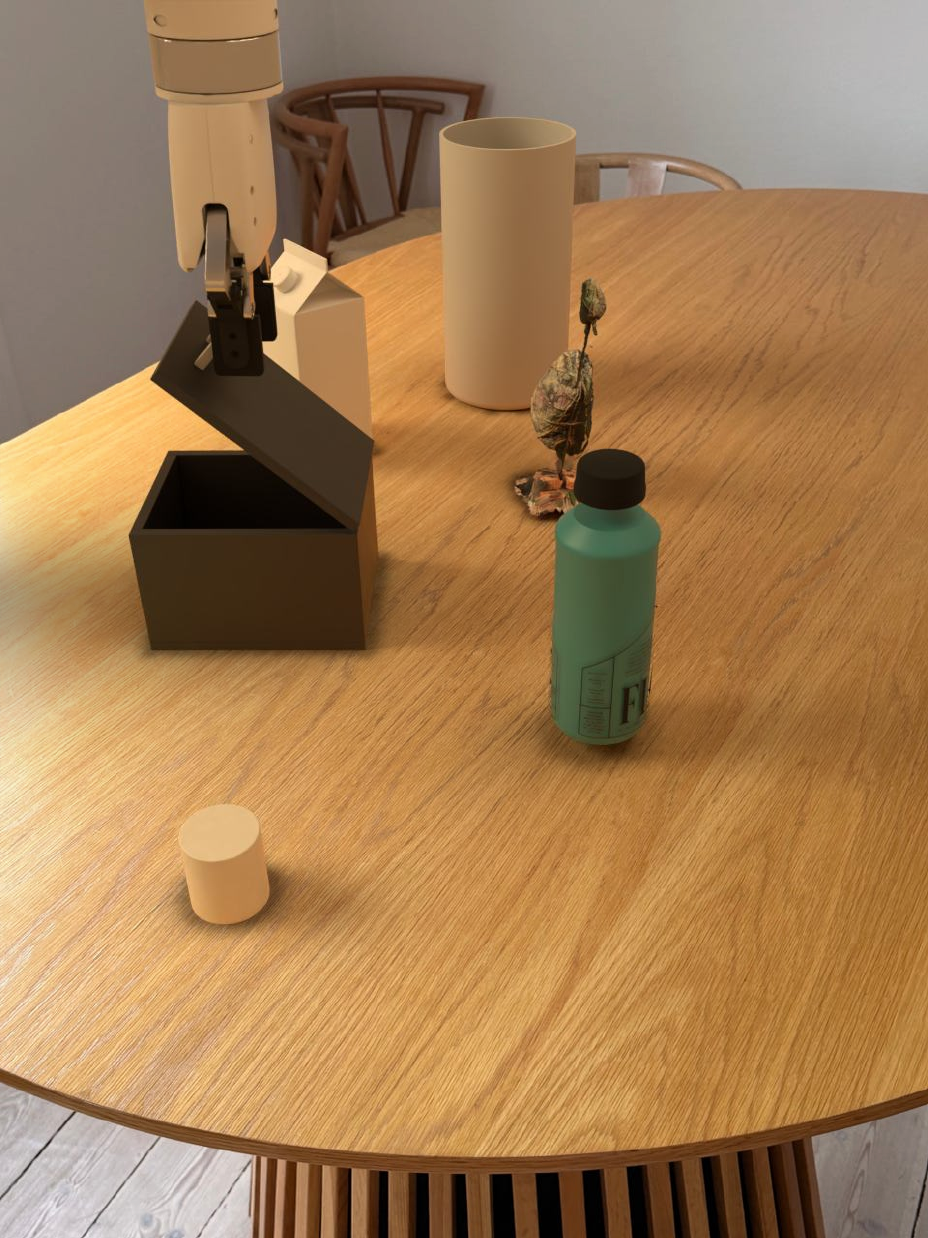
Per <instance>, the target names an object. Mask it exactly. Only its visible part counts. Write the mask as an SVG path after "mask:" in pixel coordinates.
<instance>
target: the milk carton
mask: <svg viewBox="0 0 928 1238" xmlns="http://www.w3.org/2000/svg"><path fill="white" fill-rule="evenodd" d="M283 249H284V251H283V252H282V253H281V255H279V257H278V259H277V260H275V263H273V265H272V267H271V280H270V281H263V282H266V283H273V286H274V297H275V309H276V320H277V331H278V335H277V338H276V340H275V341H272V342H262V343H263V353H264V354H265V355H267V356H268V357H269V358H270V359H272V360H273V361H274V362H276V363H277V364H278V365H279V366H281V367H282V368H283V369H284V370H286V371H287V372H288V373H289V374H291V375H292V376H293V377H294V378H296V379H297V380H298V381H300V382H301V383H302V384H303V385H305V386H306V387H307V388H308V389H310V390H311V391H312V392H313V393H315V394H316V395H317V396H319V397H320V398H321V399H322V400H324V401H325V402H326V403H327V404H329V405H330V406H331V407H332V408H334V409H335V410H336V411H337V412H339V413H340V414H341V415H343V416H344V417H345V418H346V419H348V420H349V421H350V422H351V423H353V424H354V425H355V426H356V427H358V428H359V429H360V430H361V431H363V432H364V433H365V434H367V435H368V436H369V437H370V438H372V439H373V440H374V438H373V421H372V419H373V418H372V404H371V403H372V402H371V387H370V370H369V353H368V339H367V338H368V337H367V322H366V321H367V319H366V306H365V305H366V304H365V303H366V302H365V296H364V295H362V294H361V293H360V292H358V291H356V290H355V289H353V288H352V287H350V286H349V285H348V284H346V283H345V282H344V281H342V280H340V279H339V278H338V277H336V276H334V275H333V274H331V273H330V272H329V267H328V259H327V258H326V257H324V256H322V255H320V254H318V253H316V252H313V251H311V250H309V249H307V248H306V247H303V246H301V245H299V244H298V243H296V242H293V241H291V240H289V239H287V238H283Z"/></svg>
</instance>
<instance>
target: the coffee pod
mask: <svg viewBox="0 0 928 1238" xmlns="http://www.w3.org/2000/svg"><path fill="white" fill-rule="evenodd" d="M177 839H178V846H179V849H180V851H179V852H180V855H181V860H182V865H183V870H184V875H185V880H186V885H187V890H188V894H189V899H190V904H191V907H192V910H193V911H194V913H195V914H196V915H197V916H198V917H199V918H200V919H202V920H203V921H206V922H208V923H211V924H215V925H234V924H238V923H240V922H244V921H246V920H248V919H250V918H252V917H253V916H255V915H256V914H258V913H259V912H260V911H261V910H262V909H263V908H264V907H265V905H266V904H267V902H268V901H269V900H268V899H269V897H270V881H269V875H268V869H267V863H266V856H265V855H266V854H265V849H264V842H263V834H262V829H261V822H260V819H259V818H258V816H257V815H256V814H255V813H254V812H253V811H252V810H250V809H249V808H247V807H245V806H242V805H239V804H233V803H221V804H219V803H218V804H214V805H209V806H206V807H204V808H202V809H199V810H198V811H195V812H194V813H193V814H192V815H190V816H189V817H188V818H187V819H186V820H185V821H184V822H183V824H182V825H181V827H180V829H179V831H178V836H177Z"/></svg>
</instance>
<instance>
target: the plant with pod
mask: <svg viewBox="0 0 928 1238" xmlns="http://www.w3.org/2000/svg"><path fill="white" fill-rule="evenodd" d="M580 290H581V291H580V292H581V294H580V298H579V299H580V303H579V304H580V306H579V312H578V315H579V322H580V323H581V324H582V325H584V329H583V334H584V336H583V337H584V338H583V346H582V349H581V350H580V349H570V350H568V351H566V352H564V353H563V354H562V355H560V356H559V358H558V359H557V360H556V361H554V362H553V364H552V365H551V366H550V368H549V369H548V371H547V372H546V373H545V376H544V377H543V378H542V379H541V380H540V381H539V382H538V385H537V387H536V389H535V390H534V393H533V396H532V398H531V408H530V419H531V421H532V425H533V428H534V431H535V433H536V435H537V436H536V438H537V439H538V440H539V441H540V442H541V443H542V444H543V446H545V447H546V448H548V449H549V450H552V451H554V452H555V459H554V460H555V461H554V467H555V469H550V468H548V467H544V468H543V467H542V468H540V469H538V470H536V471H535V472H534V473H529V474H527V475H526V474H524V475H519V476H518V475H516V476H515V477H516V478H515V481H514V482H515V483H514V484H515V486H513V488H514V492H515V495H518V496H519V497H522V499H521V501H522V502H524V503H527V507H529V508H528V510H529V511H530V512H529V514H530V515H533V516H538V517H540V516H541V514H542V515H546V514H548V513H555V510H556V511H558V513H560V514H561V512H563V514H564V513H566V512H567V511H568V510H570V509H571V508H572V507H574V506H575V505H577V504H579V503H580V501H578V500H577V499H576V497H575V496H574V492H573V491H574V481H575V478H576V470H577V469H574V467H575V465H576V464H577V463H578V461H579V459H580V458H581V457H582V456H583V453H584V452H585V451H586V448H587V446H588V445H589V439H590V436H591V433H592V427H593V420H592V419H593V416H592V412H593V408H594V401H595V399H594V398H595V396H594V388H593V386H594V382H593V374H594V366H593V362H592V361H591V360H590V358H589V354H588V353H587V352H585V351H586V348H587V347H588V348H593V347H594V346H593V345H588V340H589V336H590V332H591V331H592V333H593V335H594V336H595V337H597V336H598V334H599V333H598V329H597V325H598V324H597V322H598V321H600V320H601V319H602V318H603V316H605V313H606V311H607V306H608V305H607V299H606V296H605V293H604V292H603V290H602V288H601V286H600V285H599V283H598V282H597V281H596V279H595V278H594V277H590V278H589V279H585V280H584V281H583V282H582V283H581V289H580ZM591 328H592V330H591ZM587 345H588V346H587Z"/></svg>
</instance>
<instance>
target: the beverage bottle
mask: <svg viewBox="0 0 928 1238" xmlns="http://www.w3.org/2000/svg"><path fill="white" fill-rule="evenodd" d="M575 470H576V478H575V481H574V491H573V492H574V496H575V497H576V499H577V500H578V501H580V503H579V504H577V505H575V506H574V507H572V508H571V509H570V510H568V511H567V512H566V513H564V512H563V514H562V515H561V516H560V517H559V518H558V520H557V522H556V523H555V526H554V539H555V540H554V541H555V545H554V546H555V548H554V578H553V579H554V582H553V605H552V608H551V613H552V617H551V616H550V617H549V618H550V619H551V618H552V623H551V625H552V627H551V632H549V636H551V638H550V640H551V646H550V644H549V648H550V649H549V652H550V654H549V655H548V658H549V662H550V663H549V668H548V669H549V671H548V672H549V674H550V675H549V678H548V681H549V682H548V689H549V690H548V700H547V701H548V703H550V704H548V708H549V709H548V712H549V713H550V716H551V717H552V719H553V722H554V724H555V725H556V727H557V728H558V729H559V731H560V732H562V733H563V735H565V736H567V737H569V738H571V739H572V740H574V741H577V742H581V743H583V744H588V745H595V746H604V745H605V746H606V745H607V746H608V745H615V744H619V743H622V742H625V741H627V740H629V739H631V738H634V736H636V735H637V734H638V732H640V730H641V729H642V727H643V725H644V724H645V722H646V721H647V719H648V717H649V715H648V714H649V711H650V708H649V707H650V703H649V702H650V700H651V697H650V695H651V691H652V690H651V689H652V678H653V671H651V669H653V667H654V664H652V665H651V663H652V659H653V658H654V651H655V650H654V649H653V648H654V647H655V646H654V645H655V644H654V643H655V635H654V634H653V633H654V626H655V625H654V624H655V613H656V611H657V608H658V607H659V606H658V604H656V603H658V600H656V599H657V582H658V583H660V582H659V579H658V577H659V575H658V563H659V549H660V543H661V539H662V529H661V526H660V524H659V522H658V521H657V520H656V518H655V517H653V515H652V514H650V512H648V511H647V510H646V509H645V508H643V507H642V506H641V505H640V504H641V503H642V502H643V501H644V500H645V499H646V494H647V484H646V464H645V462H644V460H643V459H642V458H641V457H640V456H638V455H637V454H636V453H634V452H631V451H628V450H625V449H618V448H600V449H595V450H594V449H593V450H591V451H589V452H585V453H584V454H582V455H581V456H580V458H579V459H578V460H577V462H576V469H575ZM656 601H657V602H656ZM650 671H651V672H650ZM650 673H651V674H650Z"/></svg>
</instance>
